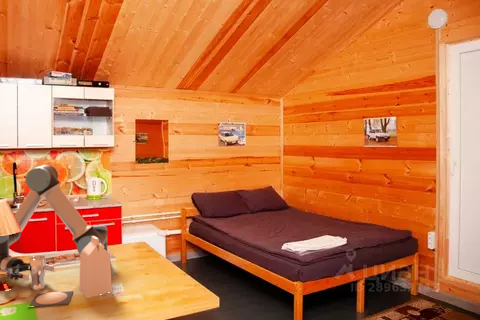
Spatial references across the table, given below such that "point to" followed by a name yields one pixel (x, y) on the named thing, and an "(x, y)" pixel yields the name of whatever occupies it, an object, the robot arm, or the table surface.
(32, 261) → the beer glass
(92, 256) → the milk
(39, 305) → the mat
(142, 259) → the table surface
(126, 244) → the table surface
